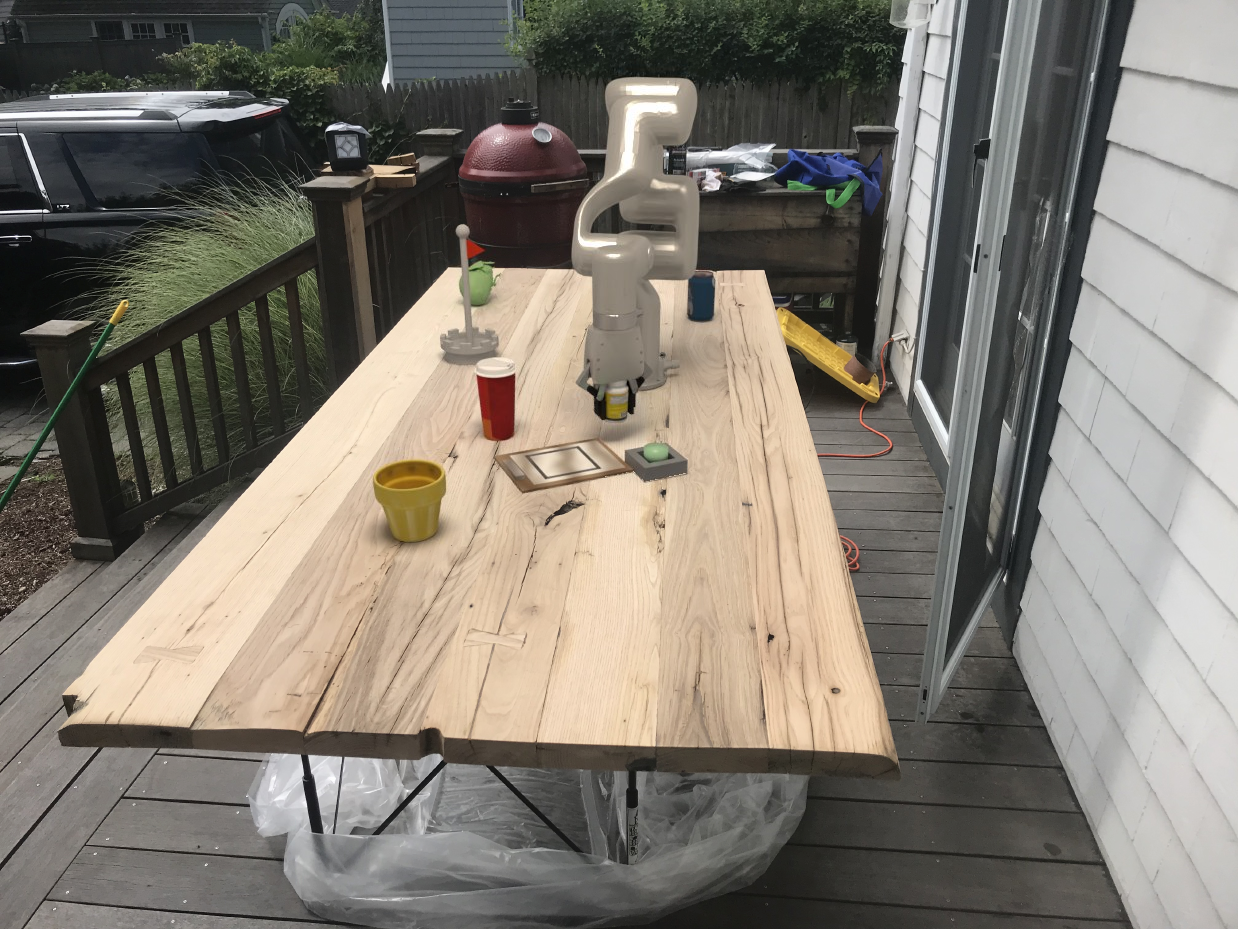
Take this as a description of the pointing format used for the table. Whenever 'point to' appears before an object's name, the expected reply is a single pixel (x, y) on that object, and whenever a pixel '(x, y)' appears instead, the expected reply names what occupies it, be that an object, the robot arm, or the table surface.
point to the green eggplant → (480, 282)
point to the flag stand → (468, 318)
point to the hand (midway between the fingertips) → (614, 413)
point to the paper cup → (497, 397)
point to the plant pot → (411, 497)
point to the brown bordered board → (561, 464)
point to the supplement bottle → (616, 402)
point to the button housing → (656, 464)
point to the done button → (655, 452)
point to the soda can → (701, 296)
